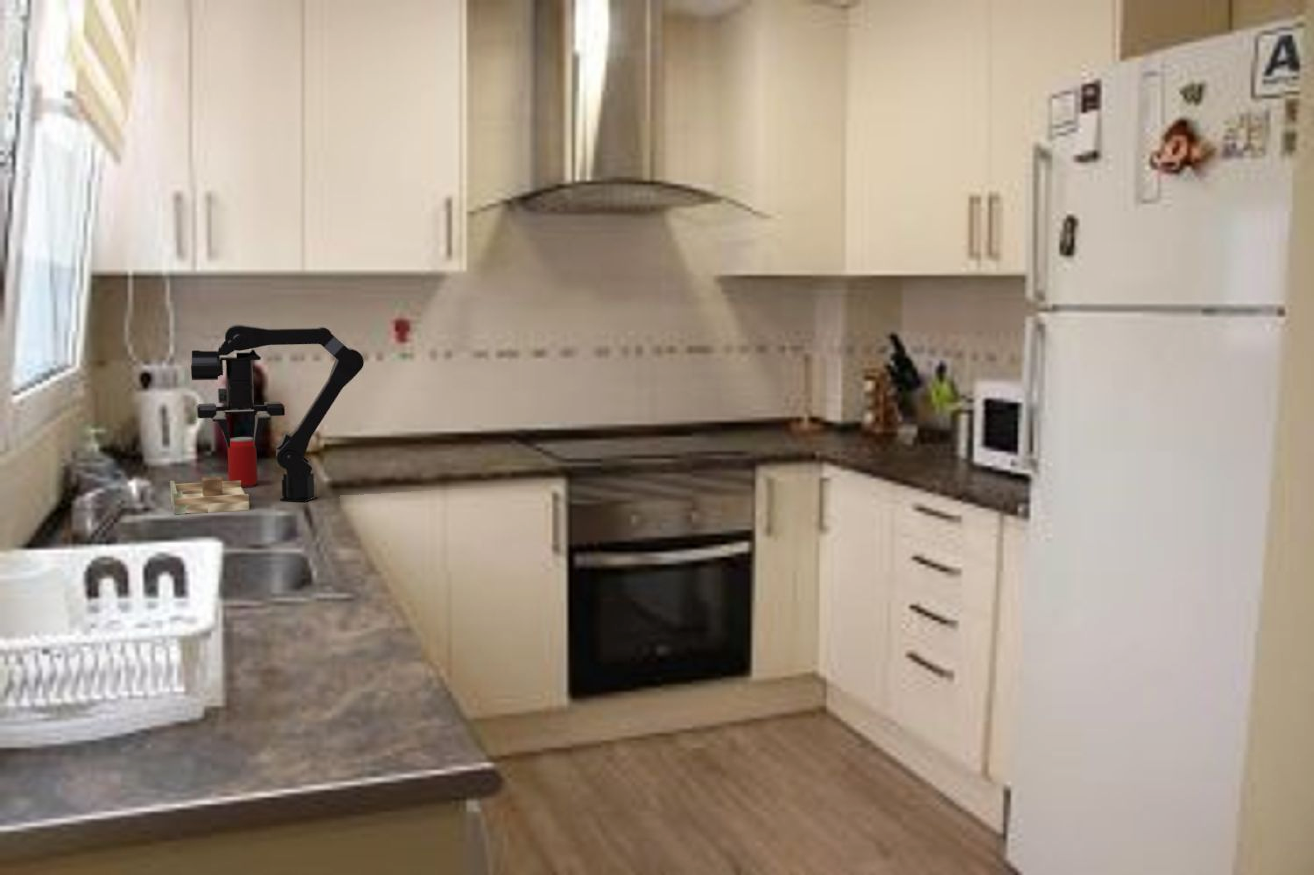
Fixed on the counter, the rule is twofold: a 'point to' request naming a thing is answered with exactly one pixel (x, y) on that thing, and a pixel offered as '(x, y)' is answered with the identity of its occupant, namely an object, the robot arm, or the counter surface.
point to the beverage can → (242, 461)
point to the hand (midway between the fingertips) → (242, 446)
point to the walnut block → (212, 486)
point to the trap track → (208, 498)
